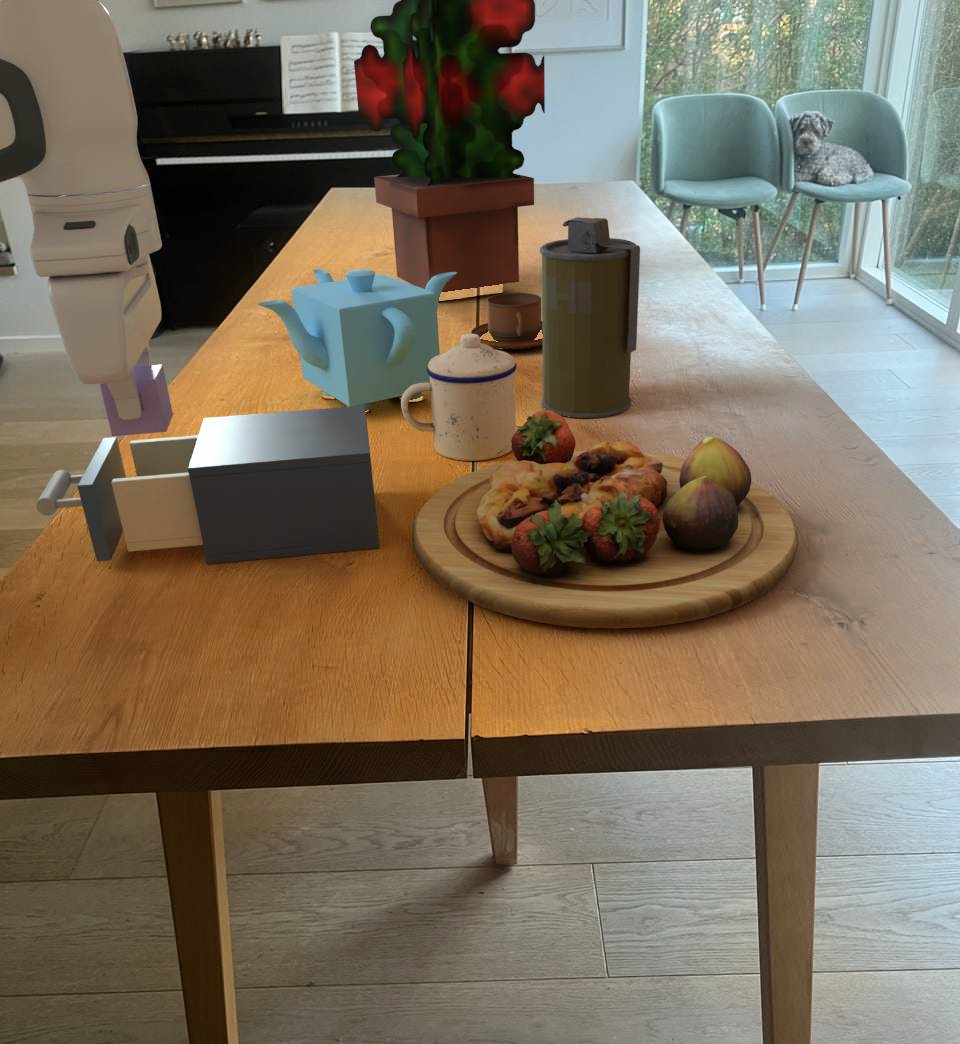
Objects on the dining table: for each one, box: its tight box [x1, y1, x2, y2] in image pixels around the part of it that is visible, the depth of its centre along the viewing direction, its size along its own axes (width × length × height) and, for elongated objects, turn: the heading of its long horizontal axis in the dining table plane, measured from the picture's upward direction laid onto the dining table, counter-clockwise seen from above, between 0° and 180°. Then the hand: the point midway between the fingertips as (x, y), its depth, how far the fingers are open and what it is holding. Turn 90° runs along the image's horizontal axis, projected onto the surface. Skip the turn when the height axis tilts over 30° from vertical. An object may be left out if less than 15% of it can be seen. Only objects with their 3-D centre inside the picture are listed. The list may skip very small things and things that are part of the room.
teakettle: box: [257, 268, 457, 411], centre depth 120 cm, size 19×19×15 cm
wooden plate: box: [411, 409, 799, 629], centre depth 85 cm, size 32×32×8 cm
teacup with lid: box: [400, 333, 518, 462], centre depth 104 cm, size 12×9×12 cm
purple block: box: [99, 364, 174, 437], centre depth 85 cm, size 4×4×4 cm
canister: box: [539, 216, 641, 419], centre depth 113 cm, size 11×10×20 cm
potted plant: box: [353, 0, 546, 292], centre depth 160 cm, size 22×22×45 cm
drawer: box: [35, 434, 203, 562], centre depth 89 cm, size 18×11×7 cm, turn 98°
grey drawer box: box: [188, 405, 380, 565], centre depth 90 cm, size 15×13×9 cm
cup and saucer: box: [470, 292, 543, 350], centre depth 140 cm, size 12×12×6 cm
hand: (137, 406), depth 85 cm, fingers closed on purple block, 4 cm apart
